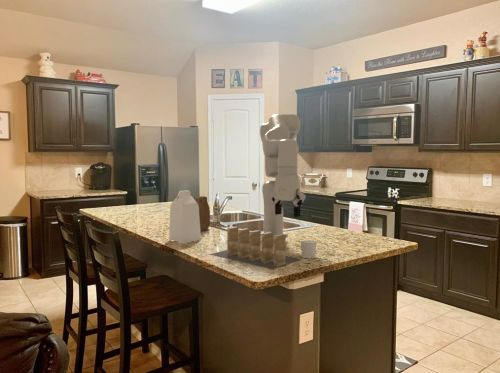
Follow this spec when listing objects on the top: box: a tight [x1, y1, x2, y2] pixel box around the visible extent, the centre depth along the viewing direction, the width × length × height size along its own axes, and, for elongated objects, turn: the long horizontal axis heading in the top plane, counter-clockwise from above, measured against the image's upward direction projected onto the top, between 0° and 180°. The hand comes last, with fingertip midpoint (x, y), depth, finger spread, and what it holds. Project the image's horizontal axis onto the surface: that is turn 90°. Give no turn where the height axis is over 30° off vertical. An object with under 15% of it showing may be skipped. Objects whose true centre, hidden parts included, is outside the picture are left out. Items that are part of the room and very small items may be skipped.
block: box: [193, 195, 211, 232], centre depth 243 cm, size 11×8×20 cm
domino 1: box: [238, 227, 250, 258], centre depth 177 cm, size 2×5×12 cm, turn 138°
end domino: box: [226, 226, 240, 256], centre depth 181 cm, size 2×5×12 cm, turn 138°
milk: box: [168, 190, 202, 244], centre depth 214 cm, size 12×12×26 cm
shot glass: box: [300, 240, 317, 259], centre depth 178 cm, size 7×7×7 cm
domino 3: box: [261, 232, 274, 263], centre depth 168 cm, size 2×5×12 cm, turn 138°
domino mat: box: [209, 249, 303, 270], centre depth 177 cm, size 20×36×1 cm, turn 48°
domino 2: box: [249, 229, 262, 261], centre depth 173 cm, size 2×5×12 cm, turn 138°
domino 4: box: [273, 233, 286, 267], centre depth 164 cm, size 2×5×12 cm, turn 138°
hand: (287, 215), depth 160 cm, fingers open, 9 cm apart
